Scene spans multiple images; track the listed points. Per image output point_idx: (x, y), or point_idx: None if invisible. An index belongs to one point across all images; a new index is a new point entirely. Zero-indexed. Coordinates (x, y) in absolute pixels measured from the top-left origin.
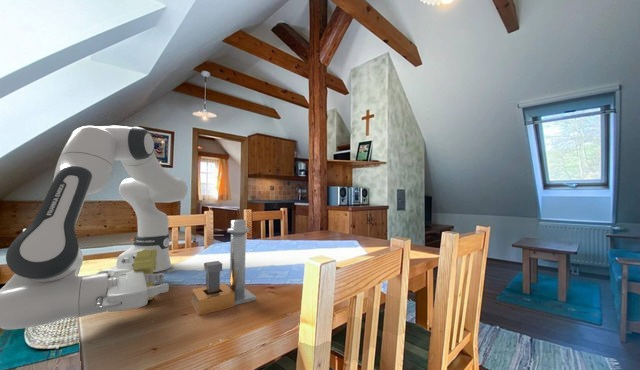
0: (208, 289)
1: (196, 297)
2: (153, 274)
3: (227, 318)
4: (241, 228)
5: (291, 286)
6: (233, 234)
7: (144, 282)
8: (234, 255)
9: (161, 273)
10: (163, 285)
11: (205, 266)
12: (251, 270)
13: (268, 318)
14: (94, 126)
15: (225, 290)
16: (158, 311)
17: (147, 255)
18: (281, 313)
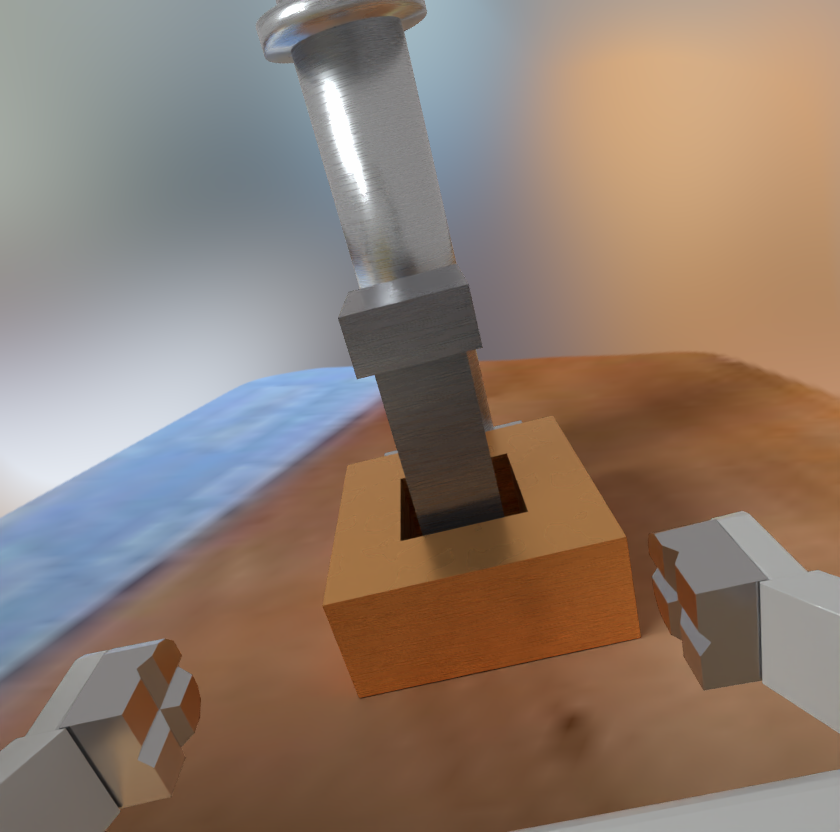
0: (491, 479)
1: (528, 565)
2: (3, 776)
3: (735, 505)
4: None
5: None
6: (378, 32)
7: (804, 798)
8: (429, 207)
9: (80, 666)
10: (776, 549)
11: (391, 328)
12: (118, 470)
13: (770, 394)
14: None
15: (490, 447)
16: None
17: None
18: (722, 372)
